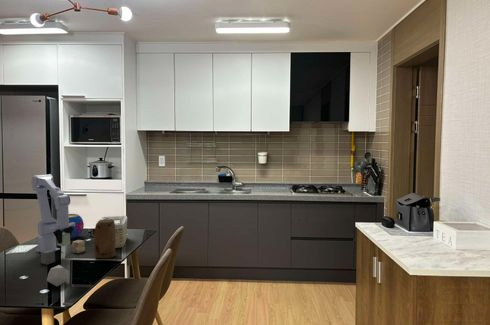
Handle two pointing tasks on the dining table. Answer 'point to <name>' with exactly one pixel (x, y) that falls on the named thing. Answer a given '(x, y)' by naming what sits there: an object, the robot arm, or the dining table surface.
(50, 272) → the die
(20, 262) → the dining table surface
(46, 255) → the charcoal block
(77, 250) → the beech block
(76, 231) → the ceramic pot
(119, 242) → the storage basket
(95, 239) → the brown rough elongated lump
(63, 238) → the sage block
